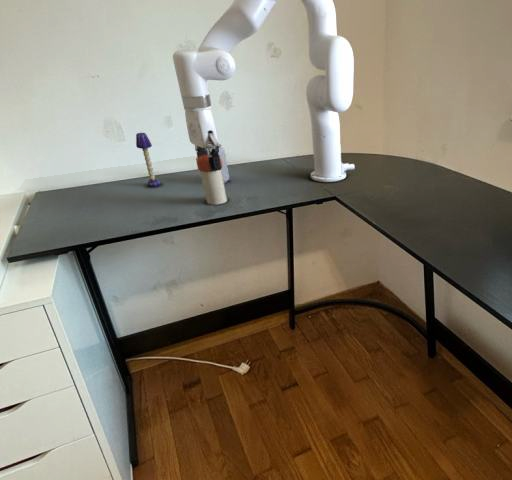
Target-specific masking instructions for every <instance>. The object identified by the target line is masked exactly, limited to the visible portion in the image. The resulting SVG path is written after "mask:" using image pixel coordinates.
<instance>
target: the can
mask: <svg viewBox="0 0 512 480" xmlns="http://www.w3.org/2000/svg"><path fill="white" fill-rule="evenodd" d="M209 145H212V144H208V146H209ZM212 149H213V148H210V151H211V150H212ZM205 150H207V149H206V147H205ZM207 153H208V152H207ZM208 155H209V154H208ZM219 156H220V157H221V161H222V166H223V167H222V168H221V171H222V176H223V181H224V184H226V183H228V181H229V180H230V173H229V168H228V163H227V157H226V151H225V148H224V147H222V144H221V143H219Z"/></svg>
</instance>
